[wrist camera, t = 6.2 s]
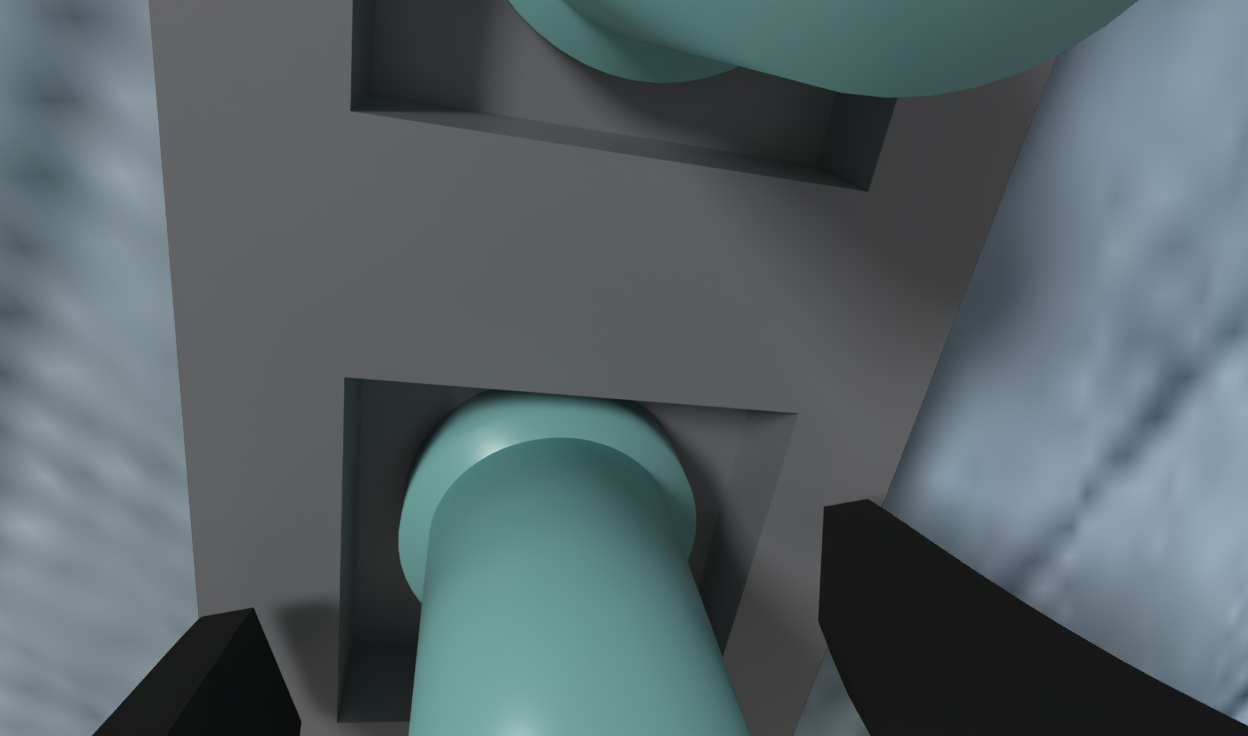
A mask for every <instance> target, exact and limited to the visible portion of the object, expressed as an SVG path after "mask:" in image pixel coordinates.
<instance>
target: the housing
mask: <svg viewBox="0 0 1248 736" xmlns="http://www.w3.org/2000/svg"><path fill="white" fill-rule="evenodd" d="M149 9H150V21H151V34H152V46H153V59H154V71H155V83H156V96H157V108H158V120H159V133H160V145H161V158H162V170H163V182H164V195H165V207H166V219H167V232H168V244H169V256H170V269H171V281H172V294H173V306H174V318H175V331H176V343H177V355H178V368H179V380H180V393H181V405H182V417H183V430H184V442H185V454H186V467H187V479H188V491H189V504H190V516H191V529H192V541H193V553H194V566H195V578H196V590H197V603H198V615H199V618H200V617H202V616H208V615H213V614H219V613H225V612H230V611H236V610H241V609H247V608H253V607H254V609H255V612H256V614H257V616H258V619H259V621H260V624H261V626H262V628H263V631H264V633H265V636H266V638H267V640H268V643H269V645H270V647H271V650H272V652H273V655H274V657H275V659H276V662H277V664H278V667H279V669H280V671H281V674H282V676H283V678H284V681H285V683H286V686H287V688H288V690H289V693H290V695H291V698H292V700H293V702H294V705H295V707H296V710H297V712H298V714H299V717H300V719H301V721H302V723H301V731H300V736H408V735H409V726H410V716H411V706H412V696H413V686H414V677H415V667H416V657H417V647H418V638H419V628H420V618H421V608H422V604H421V602H420V601H419V600H418V598H417V597H416V595H415V594H414V593H413V591H412V589H411V587H410V585H409V584H408V582H407V580H406V578H405V575H404V572H403V569H402V566H401V561H400V555H399V548H398V542H399V527H400V520H401V514H402V508H403V502H404V495H405V489H406V484H407V478H408V473H409V470H410V467H411V465H412V462H413V459H414V457H415V455H416V453H417V451H418V449H419V448H420V446H421V444H422V442H423V441H424V440H425V438H426V437H427V436H428V434H429V433H430V432H431V430H432V429H433V428H434V427H435V426H436V425H437V424H438V423H439V422H440V421H441V420H442V419H443V418H444V417H445V416H446V415H447V414H448V413H450V412H451V411H452V410H454V409H455V408H456V407H457V406H459V405H460V404H462V403H463V402H465V401H467V400H468V399H470V398H472V397H474V396H475V395H477V394H479V393H482V392H484V391H486V390H488V389H499V390H511V391H524V392H537V393H549V394H562V395H574V396H587V397H600V398H612V399H625V400H635V401H636V402H638V403H639V404H640V405H641V406H643V407H644V408H645V409H646V410H647V411H649V412H650V413H651V414H652V415H653V417H654V418H655V419H656V420H657V421H658V422H659V423H660V424H661V426H662V427H663V429H664V430H665V432H666V434H667V435H668V437H669V438H670V441H671V443H672V445H673V447H674V450H675V452H676V454H677V457H678V459H679V461H680V464H681V466H682V468H683V471H684V473H685V475H686V478H687V480H688V482H689V485H690V487H691V490H692V494H693V498H694V501H695V508H696V533H695V538H694V542H693V547H692V550H691V553H690V556H689V558H688V564H689V566H690V569H691V572H692V575H693V577H694V580H695V583H696V586H697V588H698V591H699V594H700V596H701V599H702V602H703V605H704V607H705V610H706V613H707V616H708V618H709V621H710V624H711V627H712V629H713V632H714V635H715V638H716V640H717V643H718V646H719V649H720V651H721V654H722V657H723V659H724V662H725V665H726V668H727V670H728V673H729V676H730V679H731V681H732V684H733V687H734V690H735V692H736V695H737V698H738V701H739V703H740V706H741V709H742V712H743V714H744V717H745V720H746V722H747V725H748V728H749V731H750V733H751V736H793V734H794V732H795V729H796V726H797V724H798V721H799V719H800V716H801V714H802V711H803V708H804V706H805V703H806V701H807V698H808V696H809V693H810V690H811V688H812V685H813V683H814V680H815V678H816V675H817V672H818V670H819V667H820V665H821V662H822V659H823V657H824V654H825V652H826V649H827V647H828V645H827V643H826V640H825V638H824V635H823V633H822V630H821V628H820V625H819V623H818V611H819V591H820V571H821V551H822V531H823V511H824V506H830V505H835V504H841V503H847V502H852V501H858V500H864V499H869V500H871V501H872V502H874V503H875V504H877V505H878V506H880V507H882V505H883V502H884V500H885V497H886V495H887V492H888V490H889V487H890V484H891V482H892V479H893V477H894V474H895V472H896V469H897V466H898V464H899V461H900V459H901V456H902V453H903V451H904V448H905V446H906V443H907V441H908V438H909V435H910V433H911V430H912V428H913V425H914V423H915V420H916V417H917V415H918V412H919V410H920V407H921V405H922V402H923V399H924V397H925V394H926V392H927V389H928V387H929V384H930V381H931V379H932V376H933V374H934V371H935V369H936V366H937V363H938V361H939V358H940V356H941V353H942V350H943V348H944V345H945V343H946V340H947V338H948V335H949V332H950V330H951V327H952V325H953V322H954V320H955V317H956V314H957V312H958V309H959V307H960V304H961V302H962V299H963V296H964V294H965V291H966V289H967V286H968V284H969V281H970V278H971V276H972V273H973V271H974V268H975V266H976V263H977V260H978V258H979V255H980V253H981V250H982V247H983V245H984V242H985V240H986V237H987V235H988V232H989V229H990V227H991V224H992V222H993V219H994V217H995V214H996V211H997V209H998V206H999V204H1000V201H1001V199H1002V196H1003V193H1004V191H1005V188H1006V186H1007V183H1008V181H1009V178H1010V175H1011V173H1012V170H1013V168H1014V165H1015V163H1016V160H1017V157H1018V155H1019V152H1020V150H1021V147H1022V144H1023V142H1024V139H1025V137H1026V134H1027V132H1028V129H1029V126H1030V124H1031V121H1032V119H1033V116H1034V114H1035V111H1036V108H1037V106H1038V103H1039V101H1040V98H1041V96H1042V93H1043V90H1044V88H1045V85H1046V83H1047V80H1048V78H1049V75H1050V72H1051V70H1052V67H1053V65H1054V62H1055V60H1056V57H1057V55H1056V56H1054V57H1052V58H1050V59H1048V60H1045V61H1043V62H1041V63H1039V64H1037V65H1035V66H1033V67H1031V68H1029V69H1027V70H1025V71H1022V72H1020V73H1018V74H1015V75H1012V76H1009V77H1005V78H1002V79H999V80H996V81H993V82H990V83H987V84H984V85H981V86H978V87H975V88H970V89H965V90H959V91H954V92H948V93H943V94H938V95H932V96H914V97H890V98H885V97H876V96H867V95H857V94H848V93H841V92H837V91H833V90H829V89H825V88H822V87H818V86H814V85H810V84H806V83H802V82H799V81H795V80H791V79H787V78H783V77H779V76H776V75H772V74H768V73H764V72H760V71H756V70H753V69H749V68H745V67H741V66H738V67H736V68H734V69H732V70H729V71H726V72H723V73H720V74H717V75H714V76H711V77H708V78H703V79H697V80H692V81H686V82H670V83H654V82H645V81H635V80H630V79H626V78H623V77H619V76H615V75H611V74H608V73H605V72H603V71H600V70H598V69H595V68H593V67H591V66H588V65H586V64H584V63H582V62H580V61H579V60H577V59H575V58H573V57H572V56H570V55H568V54H566V53H565V52H563V51H561V50H560V49H558V48H557V47H555V46H554V45H553V44H551V43H550V42H549V41H547V40H546V39H545V38H543V37H542V36H541V35H540V34H538V33H537V32H536V31H534V30H533V29H532V28H531V27H530V26H529V25H528V24H527V23H526V22H525V21H524V20H523V19H522V18H521V17H520V16H519V15H518V14H517V13H516V12H515V10H514V9H513V8H512V7H511V5H510V4H509V3H508V2H507V0H149Z"/></svg>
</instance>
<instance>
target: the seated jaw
mask: <svg viewBox="0 0 1248 736" xmlns="http://www.w3.org/2000/svg"><path fill="white" fill-rule="evenodd" d="M1136 1H1138V0H507V2H508V3H509V4H510V5H511V7H512V8H513V9H514V10H515V12H516V13H517V14H518V15H519V16H520V17H521V18H522V19H523V20H524V21H525V22H526V23H527V24H528V25H529V26H530V27H531V28H532V29H533V30H534V31H536V32H537V33H538V34H540V35H541V36H542V37H543V38H545V39H546V40H547V41H549V42H550V43H551V44H553V45H554V46H555V47H557V48H558V49H560V50H561V51H563V52H565V53H566V54H568V55H570V56H572V57H573V58H575V59H577V60H579V61H580V62H582V63H584V64H586V65H588V66H591V67H593V68H595V69H598V70H600V71H603V72H605V73H608V74H611V75H615V76H619V77H623V78H626V79H630V80H635V81H645V82H654V83H670V82H686V81H692V80H697V79H703V78H708V77H711V76H714V75H717V74H720V73H723V72H726V71H729V70H732V69H734V68H736V67H738V66H741V67H745V68H749V69H753V70H756V71H760V72H764V73H768V74H772V75H776V76H779V77H783V78H787V79H791V80H795V81H799V82H802V83H806V84H810V85H814V86H818V87H822V88H825V89H829V90H833V91H837V92H841V93H848V94H857V95H867V96H876V97H885V98H890V97H914V96H932V95H938V94H943V93H948V92H954V91H959V90H965V89H970V88H975V87H978V86H981V85H984V84H987V83H990V82H993V81H996V80H999V79H1002V78H1005V77H1009V76H1012V75H1015V74H1018V73H1020V72H1022V71H1025V70H1027V69H1029V68H1031V67H1033V66H1035V65H1037V64H1039V63H1041V62H1043V61H1045V60H1048V59H1050V58H1052V57H1054V56H1056V55H1058V54H1060V53H1062V52H1064V51H1066V50H1067V49H1069V48H1071V47H1072V46H1074V45H1075V44H1077V43H1079V42H1080V41H1082V40H1083V39H1085V38H1087V37H1088V36H1090V35H1091V34H1093V33H1094V32H1096V31H1098V30H1099V29H1101V28H1102V27H1104V26H1106V25H1107V24H1108V23H1110V22H1111V21H1112V20H1113V19H1115V18H1116V17H1117V16H1119V15H1120V14H1121V13H1122V12H1124V11H1125V10H1126V9H1127V8H1129V7H1130V6H1131V5H1133V4H1134V3H1135V2H1136Z"/></svg>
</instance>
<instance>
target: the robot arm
mask: <svg viewBox="0 0 1248 736" xmlns="http://www.w3.org/2000/svg"><path fill="white" fill-rule="evenodd" d="M818 623H819V625H820V628H821V630H822V633H823V635H824V638H825V640H826V643H827V645H828V648H829V650H830V653H831V655H832V658H833V660H834V663H835V665H836V667H837V670H838V672H839V674H840V677H841V679H842V681H843V684H844V686H845V688H846V691H847V693H848V695H849V697H850V699H851V701H852V702H853V704H854V706H855V708H856V710H857V712H858V714H859V715H860V717H861V719H862V721H863V723H864V725H865V726H866V728H867V730H868V732H869V734H870V735H871V736H1248V726H1247V725H1245V724H1243V723H1241V722H1239V721H1237V720H1235V719H1233V718H1231V717H1229V716H1227V715H1225V714H1223V713H1221V712H1219V711H1217V710H1215V709H1213V708H1211V707H1209V706H1207V705H1205V704H1203V703H1201V702H1199V701H1198V700H1196V699H1194V698H1192V697H1190V696H1188V695H1186V694H1184V693H1182V692H1180V691H1178V690H1176V689H1174V688H1172V687H1170V686H1168V685H1166V684H1164V683H1162V682H1160V681H1158V680H1157V679H1155V678H1153V677H1151V676H1149V675H1147V674H1145V673H1144V672H1142V671H1140V670H1138V669H1136V668H1134V667H1133V666H1131V665H1129V664H1127V663H1125V662H1124V661H1122V660H1120V659H1118V658H1116V657H1115V656H1113V655H1111V654H1110V653H1108V652H1106V651H1104V650H1103V649H1101V648H1099V647H1098V646H1096V645H1094V644H1092V643H1091V642H1089V641H1087V640H1086V639H1084V638H1082V637H1080V636H1079V635H1077V634H1075V633H1074V632H1072V631H1070V630H1068V629H1067V628H1065V627H1063V626H1062V625H1060V624H1058V623H1057V622H1055V621H1053V620H1052V619H1050V618H1048V617H1047V616H1045V615H1044V614H1042V613H1040V612H1039V611H1037V610H1035V609H1034V608H1032V607H1031V606H1029V605H1027V604H1026V603H1024V602H1023V601H1021V600H1019V599H1018V598H1016V597H1015V596H1013V595H1012V594H1010V593H1008V592H1007V591H1005V590H1004V589H1002V588H1001V587H999V586H998V585H996V584H995V583H993V582H991V581H990V580H988V579H987V578H985V577H984V576H982V575H981V574H979V573H978V572H976V571H975V570H973V569H972V568H970V567H969V566H967V565H966V564H964V563H963V562H961V561H960V560H958V559H957V558H955V557H954V556H952V555H951V554H949V553H948V552H946V551H945V550H943V549H942V548H940V547H939V546H938V545H936V544H935V543H933V542H932V541H930V540H929V539H927V538H926V537H924V536H923V535H921V534H920V533H918V532H917V531H916V530H914V529H913V528H911V527H910V526H908V525H907V524H905V523H904V522H902V521H901V520H899V519H898V518H896V517H895V516H893V515H892V514H891V513H889V512H888V511H886V510H885V509H883V508H882V507H880V506H878V505H877V504H875V503H874V502H872V501H871V500H869V499H864V500H858V501H852V502H847V503H841V504H835V505H830V506H824V511H823V531H822V551H821V571H820V591H819V611H818ZM301 723H302V721H301V719H300V717H299V714H298V712H297V710H296V707H295V705H294V702H293V700H292V698H291V695H290V693H289V690H288V688H287V686H286V683H285V681H284V678H283V676H282V674H281V671H280V669H279V667H278V664H277V662H276V659H275V657H274V655H273V652H272V650H271V647H270V645H269V643H268V640H267V638H266V636H265V633H264V631H263V628H262V626H261V624H260V621H259V619H258V616H257V614H256V612H255V609H254V607H253V608H247V609H241V610H236V611H230V612H225V613H219V614H213V615H208V616H202V617H200V618H199V619H198V620H197V621H196V622H195V624H194V625H193V626H192V627H191V628H190V629H189V630H188V631H187V632H186V633H185V634H184V635H183V636H182V637H181V638H180V639H179V640H178V641H177V643H176V644H175V645H174V646H173V647H172V648H171V649H170V650H169V651H168V652H167V654H166V655H165V656H164V657H163V658H162V659H161V660H160V661H159V662H158V663H157V665H156V666H155V667H154V668H153V669H152V670H151V671H150V672H149V673H148V675H147V676H146V677H145V678H144V679H143V680H142V681H141V682H140V683H139V685H138V686H137V687H136V688H135V689H134V690H133V691H132V692H131V693H130V695H129V696H128V697H127V698H126V699H125V700H124V701H123V702H122V703H121V705H120V706H119V707H118V708H117V709H116V710H115V711H114V712H113V713H112V714H111V716H110V717H109V718H108V719H107V720H106V721H105V722H104V723H103V724H102V725H101V726H100V728H99V729H98V730H97V731H96V732H95V733H94V734H93V735H92V736H300V731H301Z"/></svg>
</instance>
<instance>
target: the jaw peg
mask: <svg viewBox="0 0 1248 736" xmlns="http://www.w3.org/2000/svg"><path fill="white" fill-rule="evenodd" d="M695 533H696V508H695V501H694V498H693V494H692V490H691V487H690V485H689V482H688V480H687V478H686V475H685V473H684V471H683V468H682V466H681V464H680V461H679V459H678V457H677V454H676V452H675V450H674V447H673V445H672V443H671V441H670V438H669V437H668V435H667V434H666V432H665V430H664V429H663V427H662V426H661V424H660V423H659V422H658V421H657V420H656V419H655V418H654V417H653V415H652V414H651V413H650V412H649V411H647V410H646V409H645V408H644V407H643V406H641V405H640V404H639V403H638V402H636V401H635V400H625V399H612V398H600V397H587V396H574V395H562V394H549V393H537V392H524V391H511V390H499V389H488V390H486V391H484V392H482V393H479V394H477V395H475V396H474V397H472V398H470V399H468V400H467V401H465V402H463V403H462V404H460V405H459V406H457V407H456V408H455V409H454V410H452V411H451V412H450V413H448V414H447V415H446V416H445V417H444V418H443V419H442V420H441V421H440V422H439V423H438V424H437V425H436V426H435V427H434V428H433V429H432V430H431V432H430V433H429V434H428V436H427V437H426V438H425V440H424V441H423V442H422V444H421V446H420V448H419V449H418V451H417V453H416V455H415V457H414V459H413V462H412V465H411V467H410V470H409V473H408V478H407V484H406V489H405V495H404V502H403V508H402V514H401V520H400V527H399V542H398V548H399V555H400V561H401V566H402V569H403V572H404V575H405V578H406V580H407V582H408V584H409V585H410V587H411V589H412V591H413V593H414V594H415V595H416V597H417V598H418V600H419V601H420V602H421V604H422V608H421V618H420V628H419V638H418V647H417V657H416V667H415V677H414V686H413V696H412V706H411V716H410V726H409V735H408V736H751V733H750V731H749V728H748V725H747V722H746V720H745V717H744V714H743V712H742V709H741V706H740V703H739V701H738V698H737V695H736V692H735V690H734V687H733V684H732V681H731V679H730V676H729V673H728V670H727V668H726V665H725V662H724V659H723V657H722V654H721V651H720V649H719V646H718V643H717V640H716V638H715V635H714V632H713V629H712V627H711V624H710V621H709V618H708V616H707V613H706V610H705V607H704V605H703V602H702V599H701V596H700V594H699V591H698V588H697V586H696V583H695V580H694V577H693V575H692V572H691V569H690V566H689V564H688V558H689V556H690V553H691V550H692V547H693V542H694V538H695Z"/></svg>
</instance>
